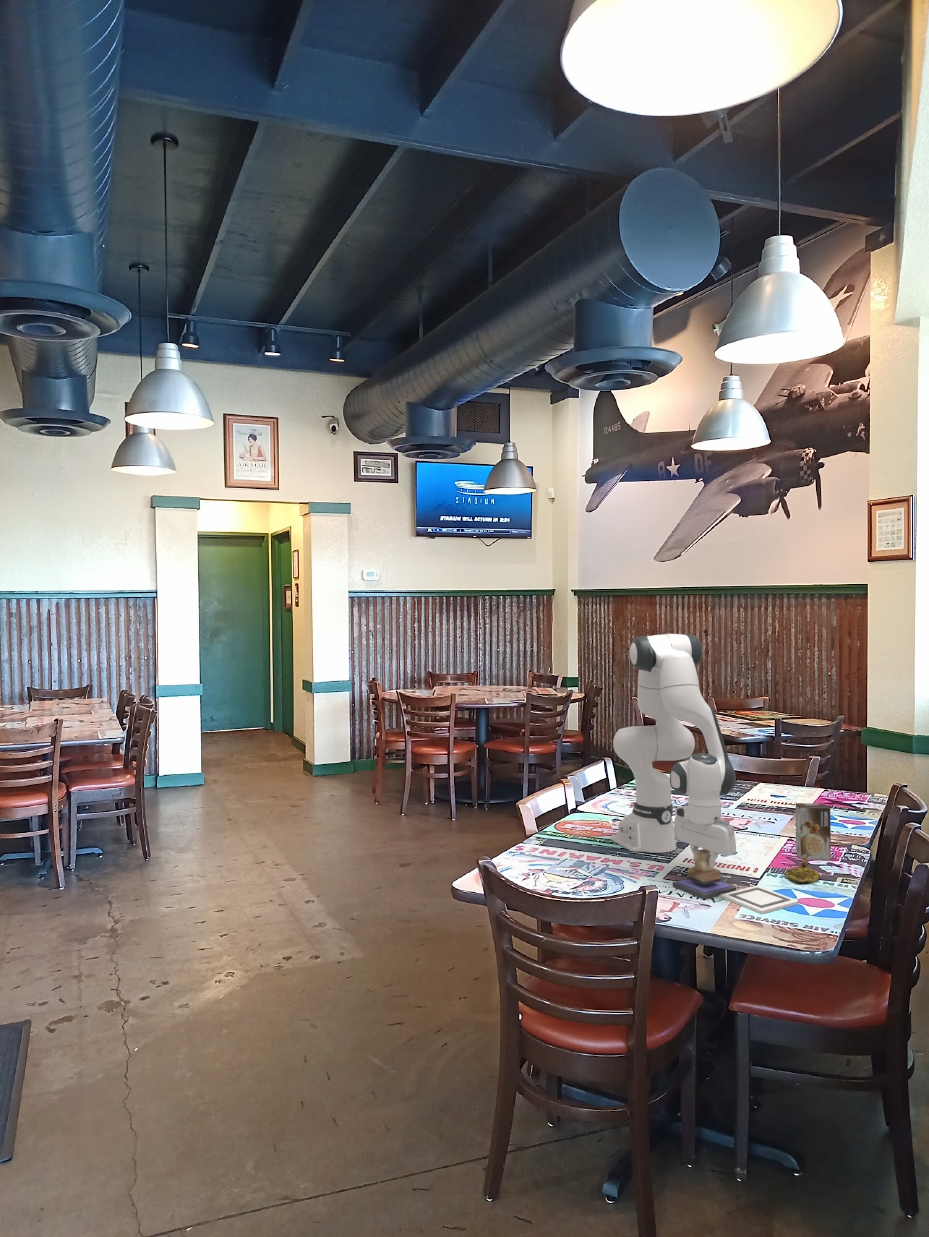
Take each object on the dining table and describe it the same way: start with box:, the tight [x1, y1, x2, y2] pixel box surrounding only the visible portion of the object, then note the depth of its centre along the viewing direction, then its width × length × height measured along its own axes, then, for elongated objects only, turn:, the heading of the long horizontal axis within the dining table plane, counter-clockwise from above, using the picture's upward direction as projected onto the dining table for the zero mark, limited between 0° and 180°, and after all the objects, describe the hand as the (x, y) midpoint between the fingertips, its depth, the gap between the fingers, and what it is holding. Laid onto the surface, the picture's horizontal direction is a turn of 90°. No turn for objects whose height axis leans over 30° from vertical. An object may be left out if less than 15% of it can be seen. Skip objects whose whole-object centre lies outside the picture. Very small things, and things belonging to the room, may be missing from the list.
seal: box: [784, 858, 821, 885], centre depth 251 cm, size 9×5×15 cm
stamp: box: [687, 848, 721, 885], centre depth 240 cm, size 6×6×8 cm
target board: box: [720, 885, 800, 915], centre depth 232 cm, size 14×14×1 cm
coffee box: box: [795, 802, 832, 861], centre depth 269 cm, size 9×6×16 cm
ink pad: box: [672, 878, 737, 900], centre depth 241 cm, size 12×12×2 cm
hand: (704, 863), depth 240 cm, fingers closed on stamp, 4 cm apart
